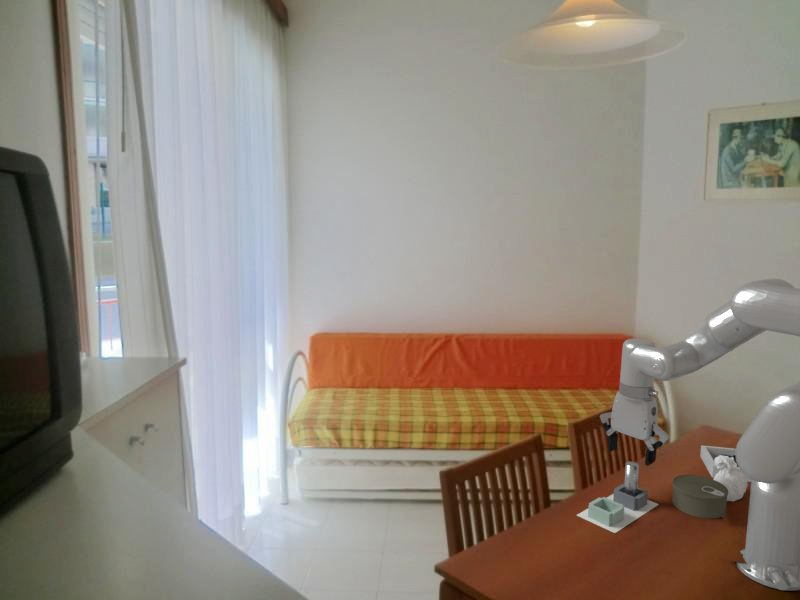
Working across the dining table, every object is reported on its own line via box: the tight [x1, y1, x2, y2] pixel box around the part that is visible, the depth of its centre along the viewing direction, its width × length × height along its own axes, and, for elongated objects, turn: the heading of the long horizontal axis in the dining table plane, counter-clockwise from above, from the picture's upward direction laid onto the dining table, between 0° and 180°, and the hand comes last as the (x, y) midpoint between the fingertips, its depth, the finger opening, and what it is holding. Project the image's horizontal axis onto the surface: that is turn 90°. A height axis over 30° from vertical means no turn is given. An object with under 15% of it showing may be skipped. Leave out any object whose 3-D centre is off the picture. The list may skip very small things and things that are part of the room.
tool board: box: [576, 483, 659, 534], centre depth 137 cm, size 20×10×4 cm, turn 129°
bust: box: [712, 455, 748, 502], centre depth 147 cm, size 12×8×11 cm
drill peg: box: [624, 461, 640, 497], centre depth 140 cm, size 3×3×10 cm
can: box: [671, 474, 728, 521], centre depth 138 cm, size 12×12×7 cm
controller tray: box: [699, 445, 752, 483], centre depth 161 cm, size 14×14×4 cm
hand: (630, 456), depth 139 cm, fingers open, 9 cm apart
